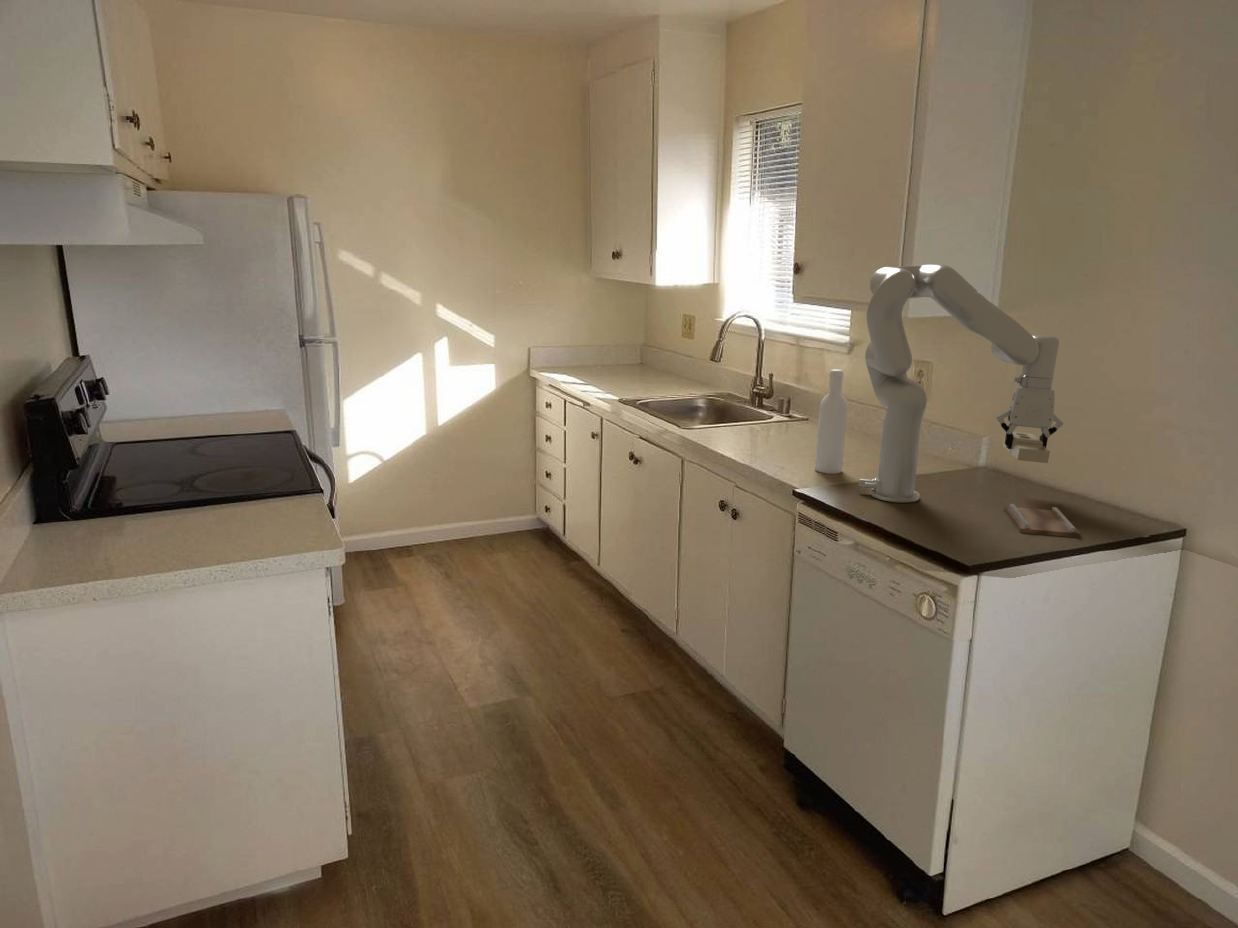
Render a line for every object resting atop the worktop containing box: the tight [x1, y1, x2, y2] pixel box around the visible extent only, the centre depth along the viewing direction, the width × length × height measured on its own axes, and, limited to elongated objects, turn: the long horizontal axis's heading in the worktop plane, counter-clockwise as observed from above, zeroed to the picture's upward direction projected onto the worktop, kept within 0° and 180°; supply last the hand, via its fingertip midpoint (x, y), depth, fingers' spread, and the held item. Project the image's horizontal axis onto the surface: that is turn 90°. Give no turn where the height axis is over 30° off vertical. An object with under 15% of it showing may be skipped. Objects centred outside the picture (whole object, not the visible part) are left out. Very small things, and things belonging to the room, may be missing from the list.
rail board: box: [1003, 503, 1081, 538], centre depth 210 cm, size 13×18×2 cm
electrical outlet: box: [1002, 431, 1051, 464], centre depth 227 cm, size 7×4×18 cm
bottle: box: [814, 368, 849, 475], centre depth 252 cm, size 8×8×30 cm
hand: (1024, 449), depth 228 cm, fingers closed on electrical outlet, 7 cm apart
